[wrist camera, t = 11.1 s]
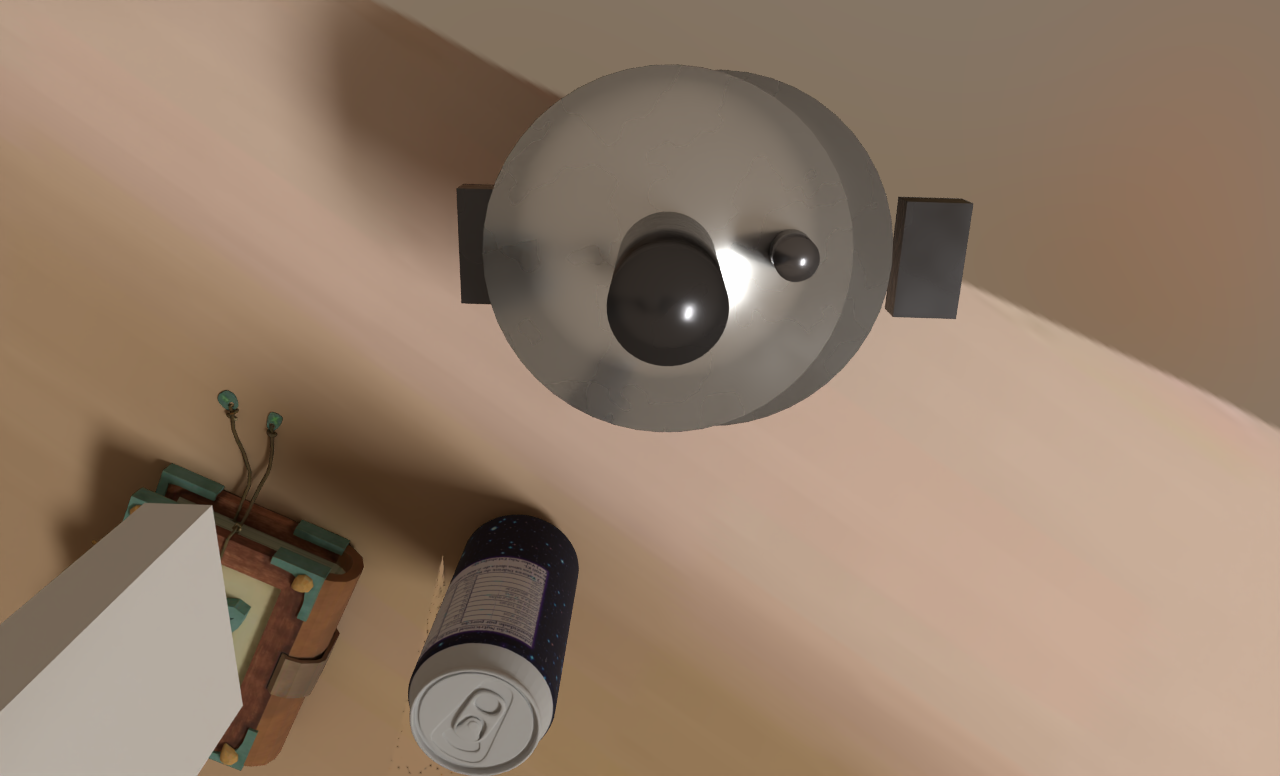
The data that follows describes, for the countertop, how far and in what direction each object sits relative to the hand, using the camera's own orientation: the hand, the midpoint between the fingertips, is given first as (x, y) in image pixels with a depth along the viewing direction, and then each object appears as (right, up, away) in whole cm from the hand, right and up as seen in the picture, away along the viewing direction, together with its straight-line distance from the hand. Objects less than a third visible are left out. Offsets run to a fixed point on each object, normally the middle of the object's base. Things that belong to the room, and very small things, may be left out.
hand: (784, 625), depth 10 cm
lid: (-1, +7, +19) cm, 21 cm away
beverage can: (-7, -6, +34) cm, 35 cm away
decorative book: (-22, -6, +35) cm, 42 cm away
